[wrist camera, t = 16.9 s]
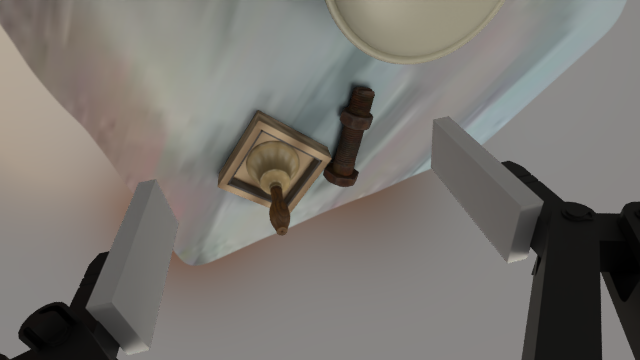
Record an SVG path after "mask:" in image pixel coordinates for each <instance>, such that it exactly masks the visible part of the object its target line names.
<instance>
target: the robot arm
mask: <svg viewBox="0 0 640 360" xmlns="http://www.w3.org/2000/svg"><path fill="white" fill-rule="evenodd" d="M431 168H432V169H433V171H434V172H435V173H436V174H437V176H438V177H439V178H440V179H441V181H442V182H443V183H444V184H445V186H446V187H447V188H448V189H449V191H450V192H451V193H452V194H453V196H454V197H455V198H456V200H457V201H458V202H459V203H460V204H461V206H462V207H463V208H464V209H465V211H466V212H467V213H468V215H469V216H470V217H471V218H472V220H473V221H474V222H475V223H476V225H477V226H478V227H479V228H480V230H481V231H482V232H483V233H484V235H485V236H486V237H487V238H488V240H489V241H490V242H491V243H492V245H493V246H494V247H495V248H496V250H497V251H498V252H499V253H500V255H501V256H502V257H503V258H504V260H505V261H506V262H507V263H511V262H515V261H519V260H523V259H527V257H528V253H529V250H530V247H531V248H532V249H533V250H534V251H535V252H536V254H537V258H536V262H535V265H534V268H533V271H532V275H534V276H533V284H532V291H531V297H530V304H529V311H528V319H527V325H526V333H525V340H524V347H523V353H522V360H602V335H601V290H600V272H601V273H602V276H603V279H604V281H605V284H606V286H607V289H608V291H609V294H610V296H611V299H612V301H613V304H614V306H615V309H616V312H617V314H618V317H619V319H620V322H621V324H622V327H623V330H624V332H625V335H626V337H627V340H628V342H629V345H630V347H631V350H632V352H633V355H634V357H635V360H640V202H631V203H628V204H626V205H625V206H624V207H623V209H622V211H621V213H620V214H610V213H608V214H607V213H595V212H594V211H593V210H592V209H590V208H588V207H587V206H585V205H582V204H579V203H575V202H564V201H563V200H562V199H561V198H559V197H558V196H557V195H556V194H555V193H553V192H552V191H551V190H550V189H549V188H547V187H546V186H545V185H544V184H543V183H541V182H540V181H538V179H537V178H536V177H534V176H533V175H531V173H530V172H528V171H527V170H526V169H525V168H524V167H522V166H520V165H518V164H516V163H513V162H511V161H506V162H501V163H500V162H499V161H498V160H497V159H496V158H495V157H493V156H492V155H491V154H490V153H489V152H488V151H487V150H486V149H485V148H483V147H482V146H481V145H480V144H479V143H478V142H477V141H476V140H474V139H473V138H472V137H471V136H470V135H469V134H468V133H467V132H466V131H464V130H463V129H462V128H461V127H460V126H459V125H458V124H457V123H455V122H454V121H453V120H452V119H451V118H450V117H449V116H448V117H443V118H439V119H434V120H433V134H432V155H431ZM178 224H179V223H178V221H177V219H176V218H175V216H174V214H173V212H172V210H171V208H170V206H169V204H168V202H167V200H166V198H165V196H164V194H163V192H162V190H161V188H160V186H159V184H158V182H157V180H156V179H155V180H150V181H145V182H141V183H139V184H138V186H137V188H136V191H135V193H134V196H133V198H132V200H131V203H130V205H129V207H128V210H127V212H126V215H125V217H124V219H123V221H122V224H121V226H120V229H119V231H118V233H117V235H116V238H115V240H114V242H113V245H112V247H111V249H110V251H108V252H104V253H100V254H99V255H98V256H97V257H96V258H95V259H94V260H93V261H92V262H91V263H90V264H89V266H88V268H87V271H86V273H85V275H84V278H83V279H82V281H81V283H80V285H79V286H80V288H78V290H77V292H76V294H75V296H74V298H73V300H72V302H71V305H70V307H68V306H67V305H66V304H65V303H63V302H54V303H50V304H47V305H45V306H43V307H41V308H40V309H38V310H36V311H35V312H34V313H33V314H31V315H30V316H29V317H28V318H27V319H26V320H25V322H24V323H23V324H22V326H21V328H20V330H19V332H18V334H19V339H20V340H21V341H22V342H23V343H25V344H26V345H27V346H28V347H29V348H31V350H29V351H27V352H25V353H23V354H21V355H18V356H16V357H14V358H12V359H9V358H7V357H6V356H5V355H3V354H0V360H118V359H117V358H116V356H117V353H118V350H119V347H121V348H122V349H123V351H124V352H125V353H126V354H127V355H130V354H134V353H138V352H142V351H147V350H150V346H151V342H152V338H153V333H154V328H155V324H156V320H157V316H158V311H159V307H160V303H161V298H162V294H163V289H164V285H165V280H166V276H167V272H168V268H169V263H170V259H171V254H172V250H173V246H174V242H175V237H176V233H177V228H178Z"/></svg>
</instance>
